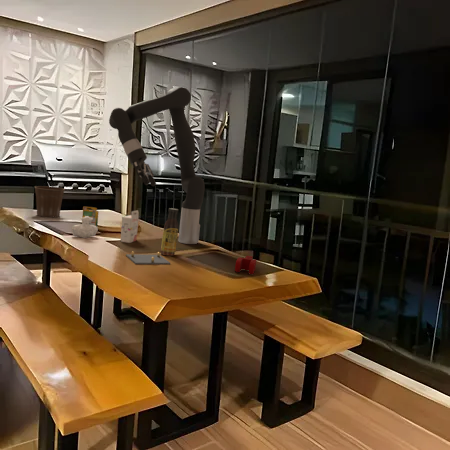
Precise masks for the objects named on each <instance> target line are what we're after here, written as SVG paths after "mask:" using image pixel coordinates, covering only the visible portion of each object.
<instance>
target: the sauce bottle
mask: <svg viewBox="0 0 450 450" xmlns="http://www.w3.org/2000/svg"><path fill="white" fill-rule="evenodd" d="M178 214H179V209H178V208H172V207H171V208H170V207H169V208H168V217H167V220H166V221H165V223H164V227H163V231H162V237H161V238H162V239H161V247H160V255H161V256H167V257H168V256H170V257H171V256H175V254H176V249H177V244H178V243H177V242H178V236H179V223H178Z"/></svg>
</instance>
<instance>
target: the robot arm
mask: <svg viewBox="0 0 450 450" xmlns="http://www.w3.org/2000/svg"><path fill="white" fill-rule="evenodd" d="M191 99H192V94H191V92H190V90H189V89H187V87H183V86H177V87H172V88H170V89H169V90H168V91H167V93H166V94H165V95H162V96H159V97H155V98H152V99H147V100H144V101H141V102H138V103H135V104H132V105H130V106H128V108H127V109H126V110H125V109H123V108H122V107H115V108H113V110H112V111H111V113H110V116H109V119H108V121H109V122H108V123H109V125H110V127H111V128H113V129H115V130H117V132H118V133H117V134H118V139H119V141H120V143H121V145H122V147H123V151H124V154H125V155H126V157H127V159H128V162H129V163H130V165H132V166H133V168H134V169H135V171H136V174H137V176H138V177H140V178H141V179H142V182H143V184H144V186H147V185H150V186H151V187H154V186H157V182H156V181H155V178H154V175H155V174H154V173H153V170H152V169H151V166H150V165H149V163H146V162H145V161H146V160H147V159H148V157H147V156H148V155H146V152H145V150H144V148H143V146H142V144H141V143H140V141H139V140H138V138H137V135H136V133H135V132H134V129H133V126H132V124H133V123H135V122H137V121H140V120H144V119H146V118H149V117H151V116H154V115H156V114H158V113H163V112H164V111H167V110H168V111H169V114H170V118H171V123H172V128H173V129H172V130H173V134H174V135H173V136H174V142H175V146H176V147H175V148H176V152H177V157H178V158H177V159H178V163H179V169H180V182H181V188H182V190H183V191H184V192H185V193H186V197H185V199H184V201H182V203H181V210H180V211H181V212H180V221H179V229H178V239H177V242H179V243H180V244H187V245H195V244H197V243H198V244H199V240H200V228H201V224H200V213H201V207H202V204H203V202H204V195H205V189H206V188H205V185H206V184H205V181H204V179H203V178H202V177H200V176H197V175H196V169H195V163H194V162H195V156H196V151H197V150H196V149H197V148H196V140H195V136H194V132H193V130H192V128H191V126H190V124H189V122H188V120H187V117H186V113H185V107H187V106H188V105H189V104H190V102H191V101H192V100H191Z"/></svg>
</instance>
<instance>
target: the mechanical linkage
mask: <svg viewBox="0 0 450 450" xmlns="http://www.w3.org/2000/svg"><path fill="white" fill-rule="evenodd" d="M253 258H254V257H253V256H252V255H246V256H245V257H240V256H238V258H237V259H236V261H235V266H234V272H235V271H236V272H235V273H237V272H240V270H241V269H245V270H249V272H248V273H250V274H253V273H254V271H255V272H256V268H257V267H256V266H257V259H253ZM241 271H242V270H241ZM240 273H241V272H240ZM250 274H249V275H250ZM254 274H255V273H254ZM254 274H253V275H254Z"/></svg>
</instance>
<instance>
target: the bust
mask: <svg viewBox="0 0 450 450" xmlns="http://www.w3.org/2000/svg"><path fill="white" fill-rule="evenodd" d="M79 220H81V224H76V225H75V224H74V225H73V226H72V227H71V233H72V236H74V237H80V238H83V239H89V238H91V237H95V236H96V234H97V232H98V230H99V227H98V226H97V227H96V226H94V225H90V224H89V223H91V220H93V218H90V217H89V216H85V217H83V218H82V216H80V217H79ZM82 220H83V222H82ZM82 223H83V224H82Z"/></svg>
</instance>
